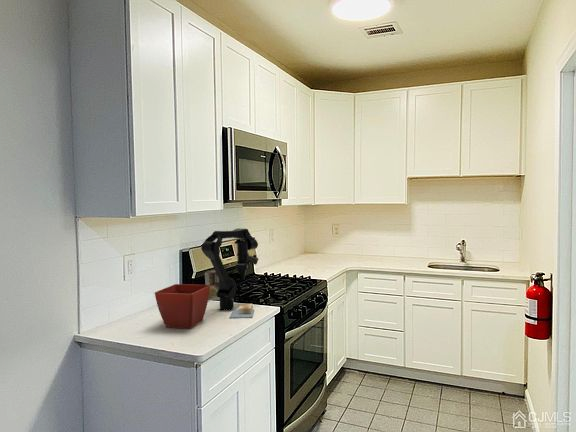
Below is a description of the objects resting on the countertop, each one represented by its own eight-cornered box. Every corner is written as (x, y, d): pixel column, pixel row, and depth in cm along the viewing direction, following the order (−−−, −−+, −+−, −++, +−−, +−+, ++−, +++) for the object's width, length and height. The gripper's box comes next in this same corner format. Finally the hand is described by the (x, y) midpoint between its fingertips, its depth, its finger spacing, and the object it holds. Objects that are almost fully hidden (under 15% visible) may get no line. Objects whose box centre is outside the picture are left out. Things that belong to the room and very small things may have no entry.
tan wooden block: (241, 309, 217) (238, 314, 208) (240, 303, 217) (238, 308, 208) (252, 308, 217) (251, 313, 208) (252, 303, 217) (250, 308, 208)
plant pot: (176, 317, 209) (175, 283, 208) (212, 319, 204) (210, 284, 203) (155, 329, 190) (153, 292, 189) (193, 331, 185) (192, 294, 184)
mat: (229, 318, 204) (229, 317, 204) (232, 311, 216) (232, 310, 216) (252, 317, 204) (252, 316, 204) (254, 310, 216) (254, 309, 216)
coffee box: (224, 297, 245) (223, 270, 245) (221, 300, 239) (220, 272, 238) (208, 297, 246) (207, 270, 246) (205, 300, 240) (204, 272, 239)
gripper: (255, 253, 222) (256, 282, 223) (258, 248, 240) (259, 275, 241) (234, 253, 222) (235, 283, 223) (238, 249, 240) (239, 276, 241)
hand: (243, 279), depth 232 cm, fingers closed
